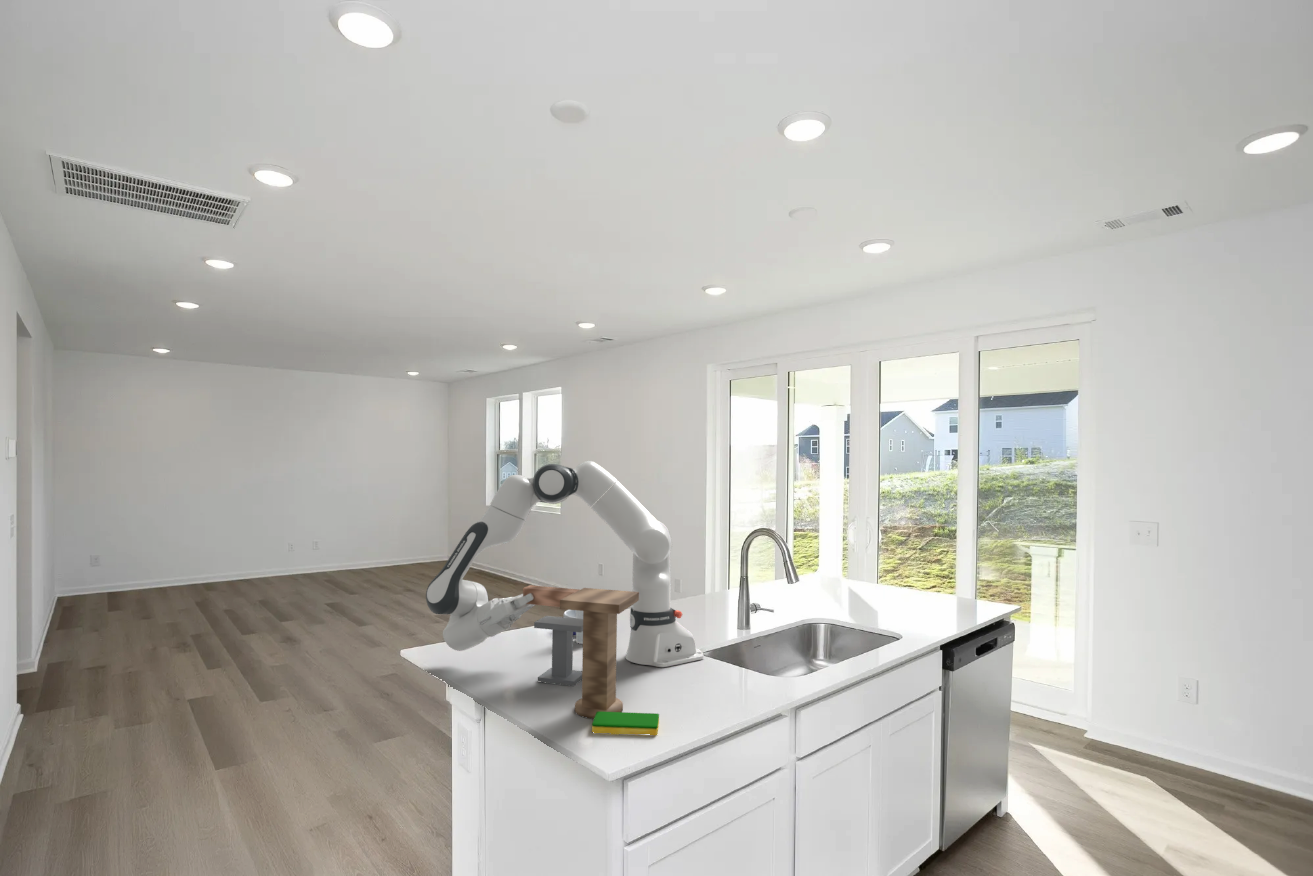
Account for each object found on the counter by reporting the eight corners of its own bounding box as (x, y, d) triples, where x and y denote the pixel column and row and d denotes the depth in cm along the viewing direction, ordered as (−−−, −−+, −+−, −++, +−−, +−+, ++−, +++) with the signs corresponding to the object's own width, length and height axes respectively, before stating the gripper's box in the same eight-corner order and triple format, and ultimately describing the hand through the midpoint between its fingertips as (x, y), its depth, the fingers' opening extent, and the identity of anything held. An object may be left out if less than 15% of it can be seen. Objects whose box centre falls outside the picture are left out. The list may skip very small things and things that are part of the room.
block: (596, 606, 174) (596, 590, 175) (590, 609, 171) (590, 593, 171) (529, 600, 180) (530, 585, 180) (522, 603, 176) (523, 588, 176)
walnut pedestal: (637, 702, 159) (638, 592, 160) (617, 725, 146) (619, 604, 146) (582, 695, 163) (584, 587, 164) (558, 717, 150) (559, 599, 150)
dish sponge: (596, 721, 149) (596, 710, 149) (659, 724, 148) (659, 713, 148) (591, 735, 142) (591, 723, 142) (657, 738, 141) (657, 726, 141)
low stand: (591, 676, 177) (592, 619, 177) (579, 687, 169) (580, 627, 169) (546, 671, 180) (546, 615, 181) (532, 681, 173) (533, 622, 173)
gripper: (470, 613, 171) (513, 590, 168) (510, 597, 191) (549, 576, 187) (480, 636, 170) (524, 613, 167) (519, 617, 190) (559, 596, 186)
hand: (537, 593), depth 177 cm, fingers closed on block, 4 cm apart
